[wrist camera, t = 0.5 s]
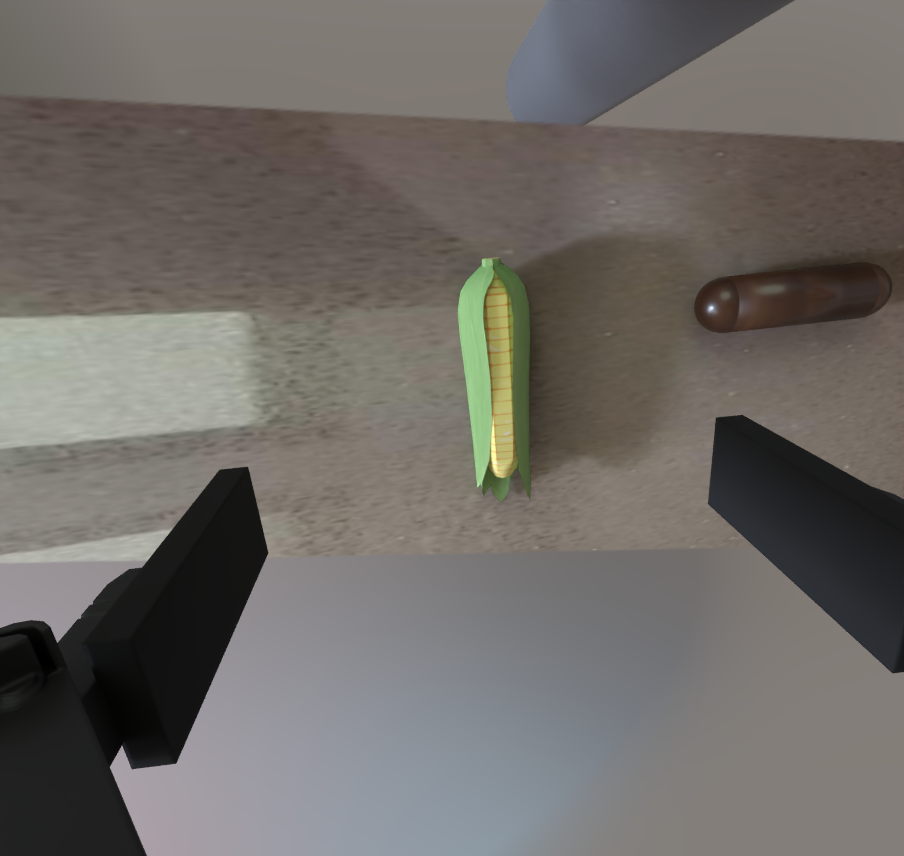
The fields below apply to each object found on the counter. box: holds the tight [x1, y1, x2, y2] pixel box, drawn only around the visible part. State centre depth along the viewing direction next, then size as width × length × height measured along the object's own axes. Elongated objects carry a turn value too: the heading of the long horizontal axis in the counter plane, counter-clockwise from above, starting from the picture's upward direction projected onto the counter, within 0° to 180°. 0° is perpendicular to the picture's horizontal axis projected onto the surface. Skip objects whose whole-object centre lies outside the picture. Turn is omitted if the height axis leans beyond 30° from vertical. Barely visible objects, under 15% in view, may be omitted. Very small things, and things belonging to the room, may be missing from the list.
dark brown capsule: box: [694, 263, 892, 333], centre depth 40 cm, size 14×4×4 cm, turn 96°
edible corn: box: [458, 257, 531, 503], centre depth 41 cm, size 5×20×5 cm, turn 5°
